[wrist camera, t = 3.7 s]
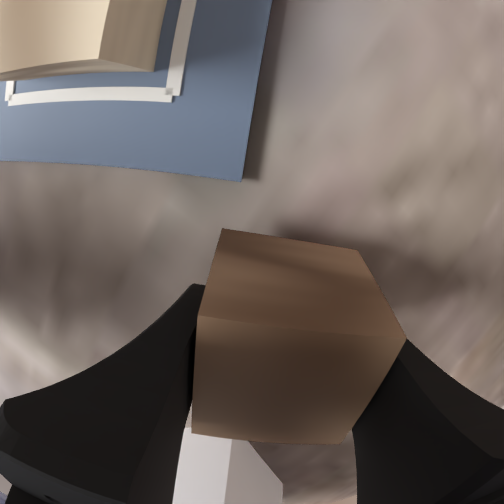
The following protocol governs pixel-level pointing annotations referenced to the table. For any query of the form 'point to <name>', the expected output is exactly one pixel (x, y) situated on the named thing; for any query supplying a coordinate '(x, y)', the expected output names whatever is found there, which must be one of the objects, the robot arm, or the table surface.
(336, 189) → the table surface
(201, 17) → the board
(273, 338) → the walnut cube
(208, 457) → the milk
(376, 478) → the robot arm
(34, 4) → the maple block
